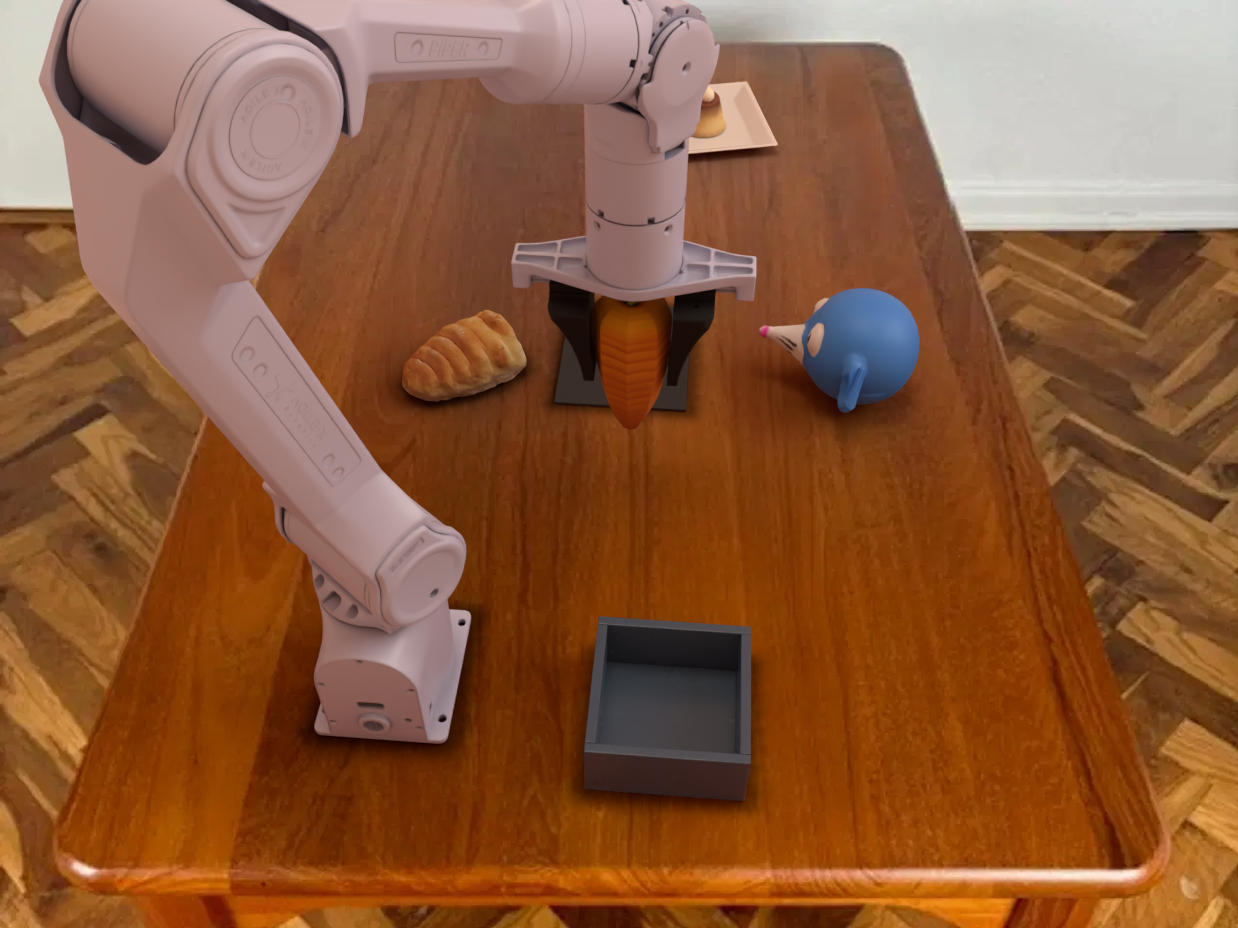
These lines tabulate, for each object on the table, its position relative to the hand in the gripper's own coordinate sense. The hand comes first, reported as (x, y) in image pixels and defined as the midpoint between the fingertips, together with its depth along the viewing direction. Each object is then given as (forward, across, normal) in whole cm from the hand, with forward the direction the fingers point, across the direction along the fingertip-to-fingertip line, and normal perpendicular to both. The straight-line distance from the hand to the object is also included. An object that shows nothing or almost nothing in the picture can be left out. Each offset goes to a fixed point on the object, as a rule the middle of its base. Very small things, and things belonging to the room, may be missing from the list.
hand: (632, 373), depth 78 cm
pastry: (+11, +13, -10) cm, 20 cm away
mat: (+10, +1, -13) cm, 17 cm away
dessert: (+11, -4, -47) cm, 49 cm away
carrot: (+5, 0, 0) cm, 5 cm away
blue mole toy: (+11, -15, -11) cm, 21 cm away
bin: (+10, -4, +20) cm, 23 cm away
